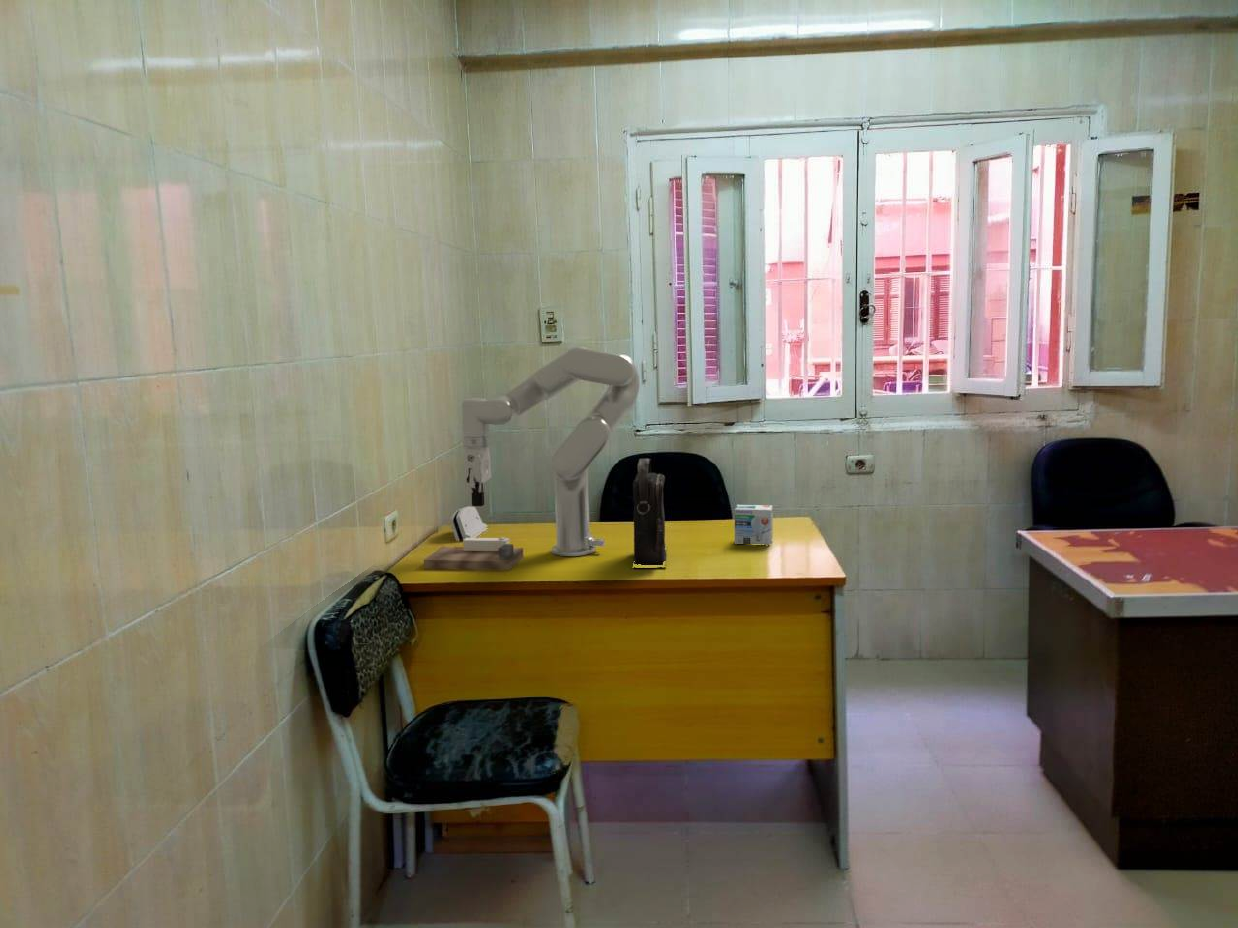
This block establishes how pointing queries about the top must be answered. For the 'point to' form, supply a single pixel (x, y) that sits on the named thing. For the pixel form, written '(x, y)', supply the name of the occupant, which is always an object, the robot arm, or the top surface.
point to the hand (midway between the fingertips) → (478, 505)
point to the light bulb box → (754, 524)
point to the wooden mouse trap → (474, 558)
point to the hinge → (467, 523)
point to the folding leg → (484, 544)
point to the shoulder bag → (648, 516)
